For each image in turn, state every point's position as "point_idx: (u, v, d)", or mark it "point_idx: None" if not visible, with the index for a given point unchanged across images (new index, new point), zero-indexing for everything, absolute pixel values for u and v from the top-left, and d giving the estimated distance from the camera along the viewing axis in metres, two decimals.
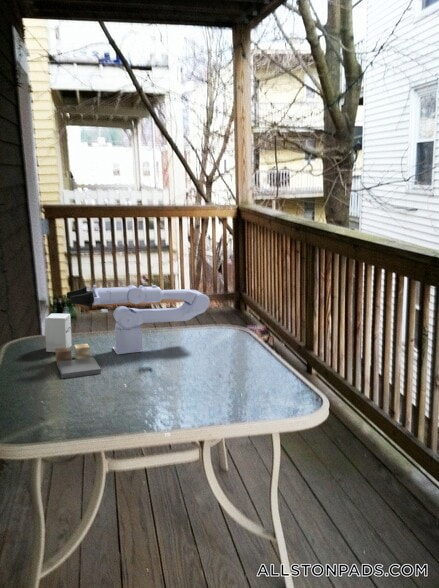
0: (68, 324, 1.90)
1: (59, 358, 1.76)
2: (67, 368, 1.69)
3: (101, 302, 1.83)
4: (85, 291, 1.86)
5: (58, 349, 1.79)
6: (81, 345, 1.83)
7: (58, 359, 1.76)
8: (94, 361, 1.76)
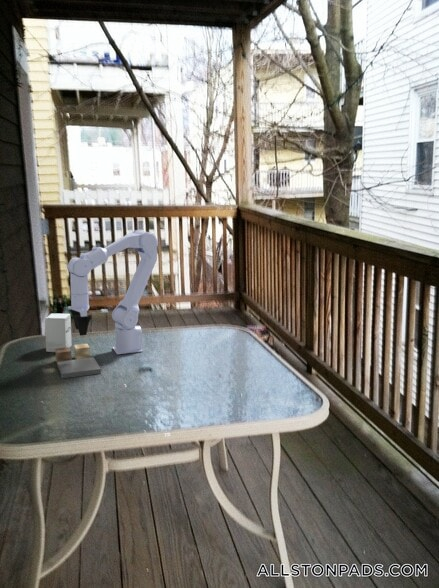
0: (68, 324, 1.90)
1: (59, 358, 1.76)
2: (67, 368, 1.69)
3: (86, 302, 1.78)
4: (75, 311, 1.83)
5: (58, 349, 1.79)
6: (81, 345, 1.83)
7: (58, 359, 1.76)
8: (94, 361, 1.76)
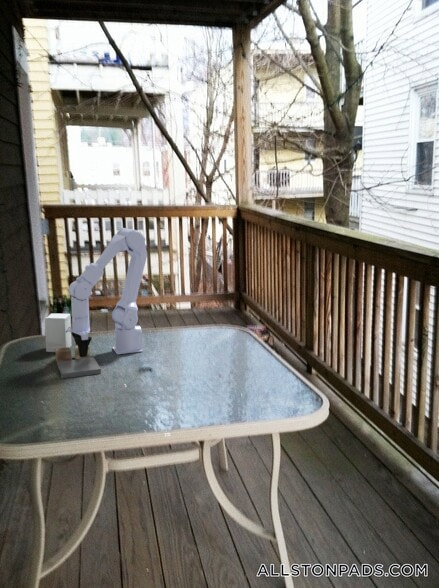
0: (68, 324, 1.90)
1: (59, 358, 1.76)
2: (67, 368, 1.69)
3: (87, 325, 1.80)
4: (76, 334, 1.84)
5: (58, 349, 1.79)
6: None
7: (58, 359, 1.76)
8: (94, 361, 1.76)
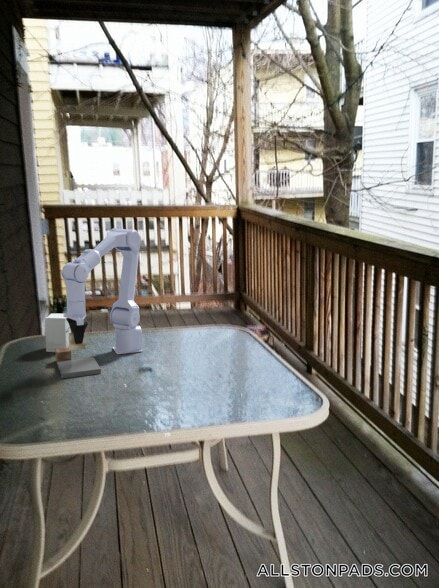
0: (68, 324, 1.90)
1: (59, 358, 1.76)
2: (67, 368, 1.69)
3: (83, 310, 1.68)
4: (72, 320, 1.71)
5: (58, 349, 1.79)
6: None
7: (58, 359, 1.76)
8: (94, 361, 1.76)
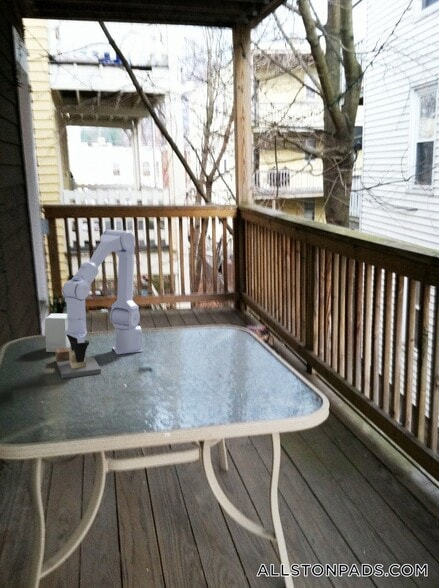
0: None
1: (59, 358, 1.76)
2: (67, 368, 1.69)
3: (83, 327, 1.68)
4: (72, 336, 1.73)
5: (58, 349, 1.79)
6: None
7: (58, 359, 1.76)
8: (94, 361, 1.76)
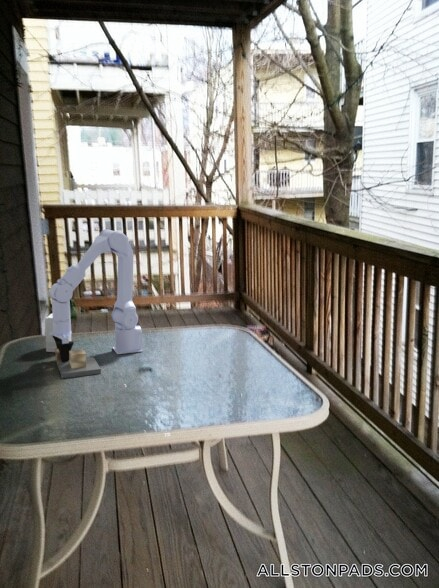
0: None
1: (59, 358, 1.76)
2: (67, 368, 1.69)
3: (68, 328, 1.75)
4: (57, 337, 1.80)
5: (58, 349, 1.79)
6: (77, 351, 1.72)
7: (58, 359, 1.76)
8: (94, 361, 1.76)
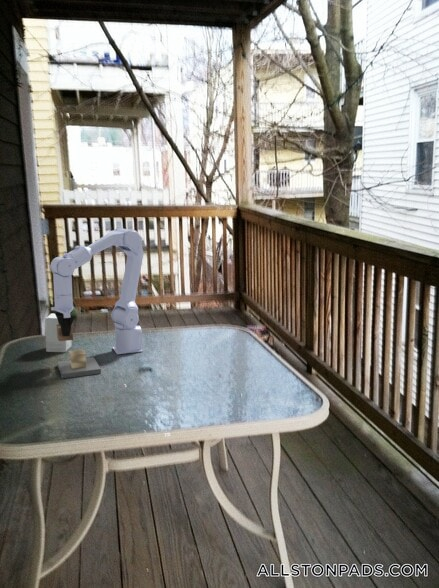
0: None
1: (60, 334, 1.73)
2: (67, 368, 1.69)
3: (70, 303, 1.72)
4: (59, 313, 1.76)
5: (59, 325, 1.75)
6: (77, 351, 1.72)
7: (59, 335, 1.73)
8: (94, 361, 1.76)
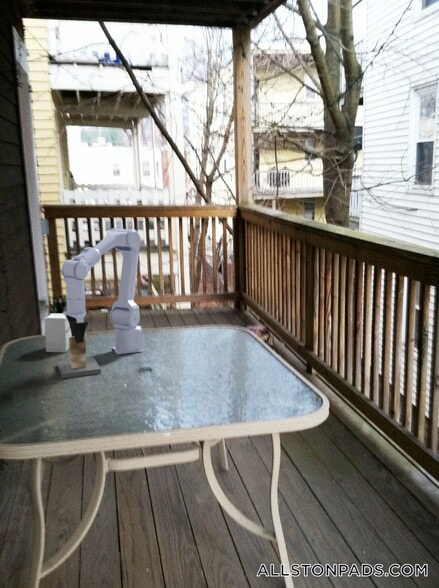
0: (68, 324, 1.90)
1: (73, 347, 1.68)
2: (67, 368, 1.69)
3: (83, 307, 1.67)
4: (71, 317, 1.72)
5: (72, 338, 1.71)
6: None
7: (72, 348, 1.68)
8: (94, 361, 1.76)
